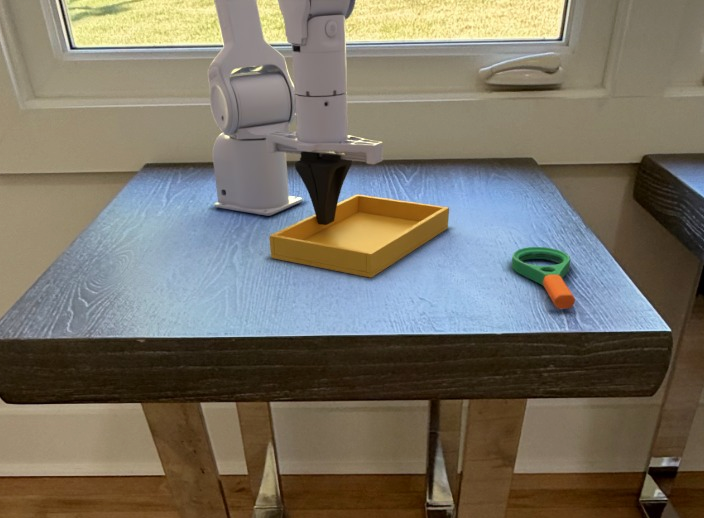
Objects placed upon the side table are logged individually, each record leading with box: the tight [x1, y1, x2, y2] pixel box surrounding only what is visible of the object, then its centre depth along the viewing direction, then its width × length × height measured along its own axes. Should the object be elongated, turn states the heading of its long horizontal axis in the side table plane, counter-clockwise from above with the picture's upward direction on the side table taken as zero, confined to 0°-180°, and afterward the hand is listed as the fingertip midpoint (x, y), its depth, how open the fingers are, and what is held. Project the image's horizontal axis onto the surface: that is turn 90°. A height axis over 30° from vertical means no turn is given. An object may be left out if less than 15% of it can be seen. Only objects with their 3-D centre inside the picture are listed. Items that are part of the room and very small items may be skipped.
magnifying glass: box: [511, 246, 576, 310], centre depth 72 cm, size 15×6×2 cm, turn 179°
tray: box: [268, 193, 450, 279], centre depth 83 cm, size 13×19×2 cm
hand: (326, 222), depth 85 cm, fingers closed
